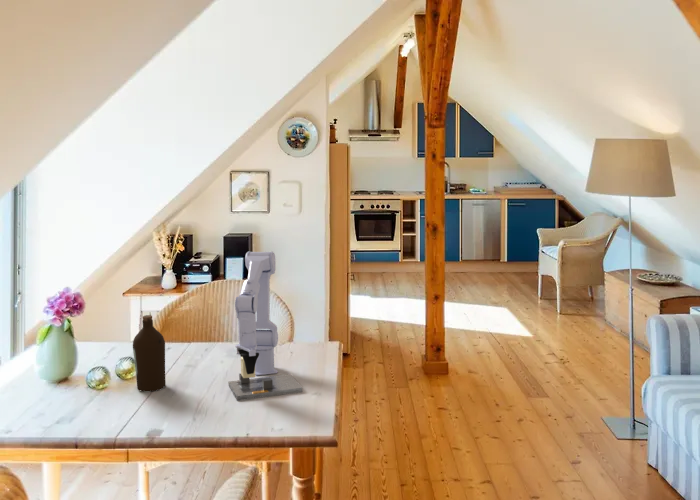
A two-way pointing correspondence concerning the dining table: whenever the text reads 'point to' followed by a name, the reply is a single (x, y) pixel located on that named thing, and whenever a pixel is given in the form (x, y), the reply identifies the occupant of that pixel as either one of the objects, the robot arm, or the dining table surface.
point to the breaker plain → (243, 379)
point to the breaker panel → (255, 389)
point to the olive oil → (149, 357)
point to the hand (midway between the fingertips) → (248, 371)
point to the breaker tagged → (267, 383)
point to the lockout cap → (243, 370)
